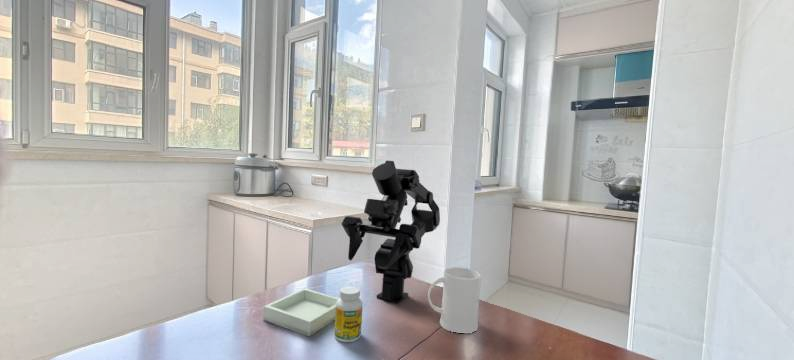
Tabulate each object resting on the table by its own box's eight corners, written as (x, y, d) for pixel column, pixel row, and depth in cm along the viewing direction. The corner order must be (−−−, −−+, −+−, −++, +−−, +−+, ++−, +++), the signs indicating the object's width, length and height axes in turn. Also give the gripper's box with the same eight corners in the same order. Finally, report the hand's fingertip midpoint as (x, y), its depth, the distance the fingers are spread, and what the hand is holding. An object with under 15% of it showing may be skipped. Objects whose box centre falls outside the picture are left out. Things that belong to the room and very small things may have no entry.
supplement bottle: (353, 327, 72) (356, 283, 71) (365, 339, 67) (368, 292, 67) (329, 333, 69) (332, 287, 68) (340, 346, 64) (343, 297, 64)
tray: (303, 300, 84) (304, 288, 84) (345, 313, 78) (346, 300, 78) (263, 319, 72) (264, 306, 72) (309, 336, 67) (309, 321, 67)
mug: (427, 332, 72) (431, 277, 71) (423, 314, 80) (427, 264, 80) (482, 335, 72) (486, 280, 71) (472, 317, 81) (476, 267, 80)
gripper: (347, 182, 82) (318, 236, 72) (421, 189, 75) (399, 249, 65) (361, 211, 89) (336, 263, 80) (428, 220, 82) (410, 278, 73)
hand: (367, 263), depth 74 cm, fingers open, 9 cm apart
